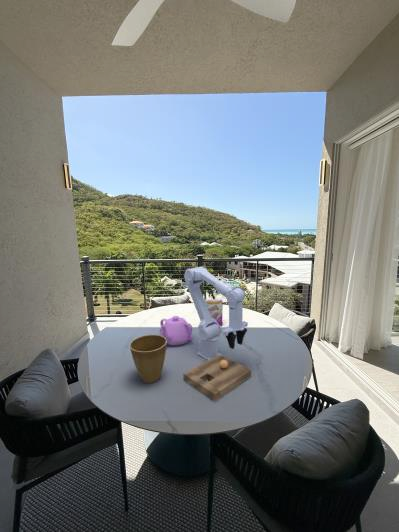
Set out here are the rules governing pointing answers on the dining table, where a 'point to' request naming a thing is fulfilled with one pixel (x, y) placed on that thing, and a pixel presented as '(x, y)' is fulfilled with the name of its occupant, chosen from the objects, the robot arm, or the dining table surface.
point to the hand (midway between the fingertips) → (235, 345)
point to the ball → (224, 364)
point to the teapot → (176, 330)
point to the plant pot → (149, 356)
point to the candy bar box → (215, 309)
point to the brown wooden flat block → (216, 377)
